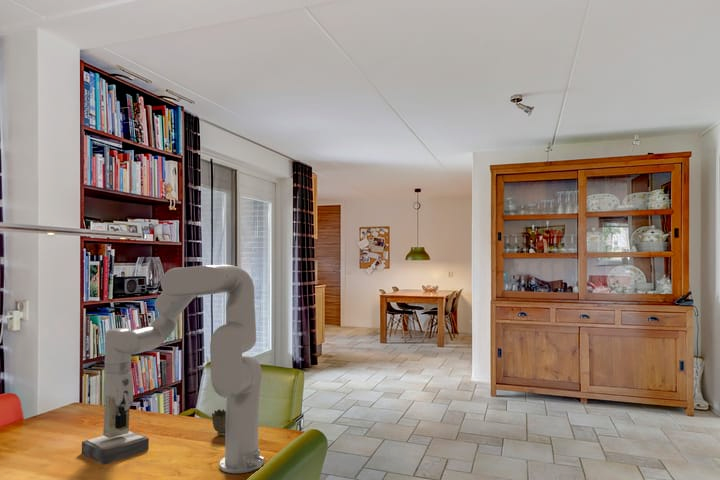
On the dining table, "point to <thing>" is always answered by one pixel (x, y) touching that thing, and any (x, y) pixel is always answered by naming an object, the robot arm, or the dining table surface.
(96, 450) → the plinth
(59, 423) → the dining table surface
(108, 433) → the skincare box
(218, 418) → the cup
